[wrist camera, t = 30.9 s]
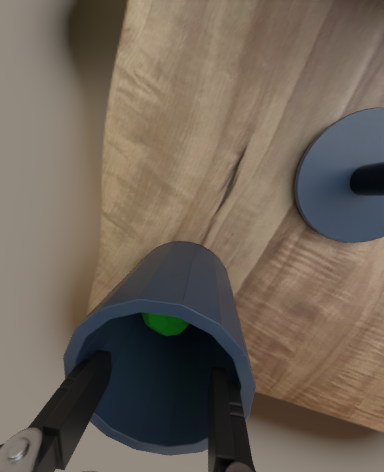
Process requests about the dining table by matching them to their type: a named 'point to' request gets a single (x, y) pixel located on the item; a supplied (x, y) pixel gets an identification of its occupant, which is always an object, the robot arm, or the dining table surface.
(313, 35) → the dining table surface
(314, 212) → the pot lid
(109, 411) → the pot
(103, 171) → the dining table surface
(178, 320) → the polyhedron
